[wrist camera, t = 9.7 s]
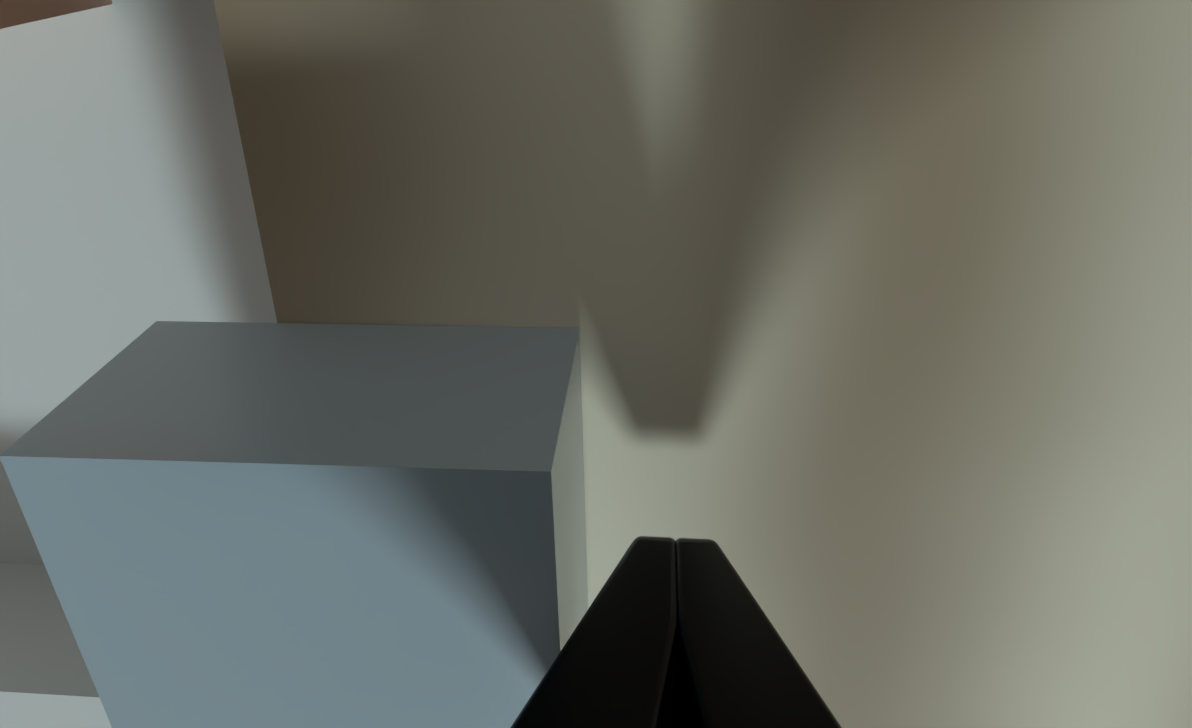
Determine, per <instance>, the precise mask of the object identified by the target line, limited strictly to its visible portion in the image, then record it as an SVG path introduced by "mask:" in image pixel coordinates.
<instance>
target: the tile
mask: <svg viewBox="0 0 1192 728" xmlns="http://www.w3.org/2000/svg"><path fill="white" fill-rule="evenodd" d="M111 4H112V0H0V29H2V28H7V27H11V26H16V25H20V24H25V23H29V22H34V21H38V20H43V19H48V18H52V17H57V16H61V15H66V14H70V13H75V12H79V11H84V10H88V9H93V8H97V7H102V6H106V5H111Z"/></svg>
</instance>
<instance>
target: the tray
mask: <svg viewBox="0 0 1192 728" xmlns="http://www.w3.org/2000/svg"><path fill="white" fill-rule="evenodd" d="M156 321H185V322H246V323H277V319H276V314H275V309H274V304H273V299H272V294H271V289H270V284H269V279H268V274H267V269H266V264H265V258H264V253H263V248H262V243H261V238H260V233H259V228H258V223H257V218H256V213H255V208H254V203H253V198H252V193H251V188H250V183H249V178H248V173H247V168H246V163H245V158H244V153H243V147H242V142H241V137H240V132H239V127H238V122H237V117H236V112H235V107H234V102H233V97H232V92H231V87H230V82H229V77H228V72H227V67H226V62H225V57H224V52H223V47H222V41H221V36H220V31H219V26H218V21H217V16H216V11H215V6H214V1H213V0H112V4H111V5H106V6H102V7H97V8H93V9H88V10H84V11H79V12H75V13H70V14H66V15H61V16H57V17H52V18H48V19H43V20H38V21H34V22H29V23H25V24H20V25H16V26H11V27H7V28H2V29H0V455H1V454H2V453H3V452H4V451H5V450H7V449H8V448H9V447H10V446H11V445H12V444H14V443H15V442H16V441H17V440H18V439H19V438H21V437H22V436H23V435H24V434H25V433H26V432H28V431H29V430H30V429H31V428H32V427H33V426H35V425H36V424H37V423H38V422H39V421H40V420H42V419H43V418H44V417H45V416H46V415H47V414H49V413H50V412H51V411H52V410H53V409H54V408H56V407H57V406H58V405H59V404H60V403H61V402H63V401H64V400H65V399H66V398H67V397H68V396H70V395H71V394H72V393H73V392H74V391H75V390H77V389H78V388H79V387H80V386H81V385H82V384H84V383H85V382H86V381H87V380H88V379H89V378H91V377H92V376H93V375H94V374H95V373H96V372H98V371H99V370H100V369H101V368H102V367H103V366H105V365H106V364H107V363H108V362H109V361H110V360H112V359H113V358H114V357H115V356H116V355H117V354H119V353H120V352H121V351H122V350H123V349H124V348H126V347H127V346H128V345H129V344H130V343H131V342H133V341H134V340H135V339H136V338H137V337H138V336H140V335H141V334H142V333H143V332H144V331H145V330H147V329H148V328H149V327H150V326H151V325H152V324H154V323H155V322H156ZM0 728H112V726H111V724H110V722H109V719H108V717H107V714H106V712H105V710H104V707H103V705H102V702H101V700H100V698H99V695H98V693H97V690H96V688H95V686H94V683H93V681H92V678H91V676H90V673H89V671H88V669H87V666H86V664H85V661H84V659H83V657H82V654H81V652H80V649H79V647H78V645H77V642H76V640H75V637H74V635H73V633H72V630H71V628H70V625H69V623H68V621H67V618H66V616H65V613H64V611H63V609H62V606H61V604H60V601H59V599H58V596H57V594H56V592H55V589H54V587H53V584H52V582H51V580H50V577H49V575H48V572H47V570H46V568H45V565H44V563H43V560H42V558H41V556H40V553H39V551H38V548H37V546H36V544H35V541H34V539H33V536H32V534H31V532H30V529H29V527H28V524H27V522H26V519H25V517H24V515H23V512H22V510H21V507H20V505H19V503H18V500H17V498H16V495H15V493H14V491H13V488H12V486H11V483H10V481H9V479H8V476H7V474H6V471H5V469H4V467H3V464H2V462H1V459H0Z"/></svg>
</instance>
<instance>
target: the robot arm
mask: <svg viewBox="0 0 1192 728" xmlns="http://www.w3.org/2000/svg"><path fill="white" fill-rule="evenodd" d="M510 728H842V727H841V726H840V724H839V723H838V721H837V720H836V718H835V717H834V715H833V714H832V712H831V711H830V709H829V708H828V706H827V705H826V703H825V702H824V700H823V699H822V697H821V696H820V695H819V693H818V692H817V690H816V689H815V687H814V686H813V684H812V683H811V681H810V680H809V678H808V677H807V675H806V674H805V672H804V671H803V669H802V668H801V666H800V665H799V663H798V662H797V660H796V659H795V657H794V656H793V655H792V653H791V652H790V650H789V649H788V647H787V646H786V644H785V643H784V641H783V640H782V638H781V637H780V635H779V634H778V632H777V631H776V629H775V628H774V626H773V625H772V623H771V622H770V620H769V619H768V618H767V616H766V615H765V613H764V612H763V610H762V609H761V607H760V606H759V604H758V603H757V601H756V600H755V598H754V597H753V595H752V594H751V592H750V591H749V589H748V588H747V586H746V585H745V583H744V582H743V580H742V579H741V578H740V576H739V575H738V573H737V572H736V570H735V569H734V567H733V566H732V564H731V563H730V561H729V560H728V558H727V557H726V555H725V554H724V552H723V551H722V549H721V548H720V546H719V545H718V544H717V543H716V542H715V541H714V540H711V539H697V538H678V539H677V540H676V541H675V540H674V539H673V538H671V537H654V536H639V537H637V538H635V539H634V540H633V542H632V543H631V545H630V546H629V548H628V549H627V551H626V552H625V554H624V555H623V557H622V558H621V560H620V561H619V563H618V564H617V566H616V567H615V569H614V571H613V572H612V574H611V575H610V577H609V578H608V580H607V581H606V583H605V584H604V586H603V587H602V589H601V590H600V592H599V593H598V595H597V596H596V598H595V599H594V601H593V602H592V604H591V606H590V607H589V609H588V610H587V612H586V613H585V615H584V616H583V618H582V619H581V621H580V622H579V624H578V625H577V627H576V628H575V630H574V631H573V633H572V634H571V636H570V637H569V639H568V640H567V642H566V644H565V645H564V647H563V648H562V650H561V651H560V653H559V654H558V656H557V657H556V659H555V660H554V662H553V663H552V665H551V666H550V668H549V669H548V671H547V672H546V674H545V675H544V677H543V679H542V680H541V682H540V683H539V685H538V686H537V688H536V689H535V691H534V692H533V694H532V695H531V697H530V698H529V700H528V701H527V703H526V704H525V706H524V707H523V709H522V710H521V712H520V714H519V715H518V717H517V718H516V720H515V721H514V723H513V724H512V726H511V727H510Z"/></svg>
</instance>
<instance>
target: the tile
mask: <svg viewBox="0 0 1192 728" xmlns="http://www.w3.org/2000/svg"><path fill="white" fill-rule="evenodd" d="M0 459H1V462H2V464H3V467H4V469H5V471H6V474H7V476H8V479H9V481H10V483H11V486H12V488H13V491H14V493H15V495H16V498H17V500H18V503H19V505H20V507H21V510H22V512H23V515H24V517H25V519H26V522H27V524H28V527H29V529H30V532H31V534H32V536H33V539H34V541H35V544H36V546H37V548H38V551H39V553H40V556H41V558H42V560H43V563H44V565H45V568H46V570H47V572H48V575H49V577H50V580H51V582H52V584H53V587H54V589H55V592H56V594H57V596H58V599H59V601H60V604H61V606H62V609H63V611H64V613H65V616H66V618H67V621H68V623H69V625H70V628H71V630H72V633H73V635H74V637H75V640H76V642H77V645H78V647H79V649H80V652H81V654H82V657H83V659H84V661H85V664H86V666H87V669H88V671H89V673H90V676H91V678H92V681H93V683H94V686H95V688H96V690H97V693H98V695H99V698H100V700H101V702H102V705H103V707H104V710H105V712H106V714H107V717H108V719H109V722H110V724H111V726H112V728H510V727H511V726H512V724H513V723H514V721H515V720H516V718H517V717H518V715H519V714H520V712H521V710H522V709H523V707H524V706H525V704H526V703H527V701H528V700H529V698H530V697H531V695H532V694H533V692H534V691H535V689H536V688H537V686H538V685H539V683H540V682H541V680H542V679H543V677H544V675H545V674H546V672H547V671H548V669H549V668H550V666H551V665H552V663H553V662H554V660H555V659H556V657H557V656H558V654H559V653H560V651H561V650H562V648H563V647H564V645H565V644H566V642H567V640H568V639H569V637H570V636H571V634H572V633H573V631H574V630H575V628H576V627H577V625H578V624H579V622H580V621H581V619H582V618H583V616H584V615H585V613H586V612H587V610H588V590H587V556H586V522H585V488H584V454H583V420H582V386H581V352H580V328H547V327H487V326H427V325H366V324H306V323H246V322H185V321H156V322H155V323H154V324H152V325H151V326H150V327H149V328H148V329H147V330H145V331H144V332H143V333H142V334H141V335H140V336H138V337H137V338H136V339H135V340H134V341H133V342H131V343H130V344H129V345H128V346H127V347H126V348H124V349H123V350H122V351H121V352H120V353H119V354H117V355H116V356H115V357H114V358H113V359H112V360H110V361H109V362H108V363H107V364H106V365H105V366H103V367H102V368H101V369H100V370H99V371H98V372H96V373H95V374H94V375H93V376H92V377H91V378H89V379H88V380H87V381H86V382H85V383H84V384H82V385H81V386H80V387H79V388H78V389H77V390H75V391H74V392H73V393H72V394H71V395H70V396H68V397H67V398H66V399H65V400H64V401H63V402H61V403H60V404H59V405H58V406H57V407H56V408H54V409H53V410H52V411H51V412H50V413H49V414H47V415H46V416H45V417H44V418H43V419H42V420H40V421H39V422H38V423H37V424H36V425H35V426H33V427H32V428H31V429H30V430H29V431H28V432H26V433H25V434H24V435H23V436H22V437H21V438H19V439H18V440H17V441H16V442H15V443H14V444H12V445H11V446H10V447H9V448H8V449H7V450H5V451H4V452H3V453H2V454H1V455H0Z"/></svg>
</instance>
